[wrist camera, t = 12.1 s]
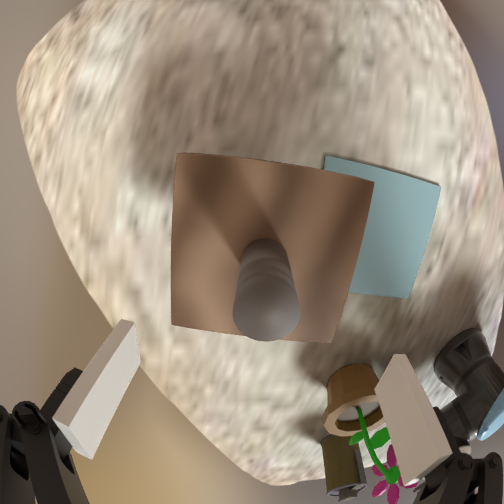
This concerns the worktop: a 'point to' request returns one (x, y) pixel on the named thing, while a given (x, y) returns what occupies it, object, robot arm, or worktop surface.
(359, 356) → the worktop surface
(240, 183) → the lid
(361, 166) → the mat
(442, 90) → the worktop surface
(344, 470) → the canister
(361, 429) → the flowerpot
